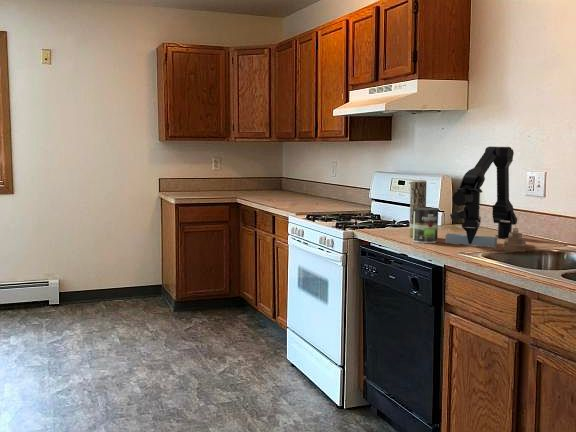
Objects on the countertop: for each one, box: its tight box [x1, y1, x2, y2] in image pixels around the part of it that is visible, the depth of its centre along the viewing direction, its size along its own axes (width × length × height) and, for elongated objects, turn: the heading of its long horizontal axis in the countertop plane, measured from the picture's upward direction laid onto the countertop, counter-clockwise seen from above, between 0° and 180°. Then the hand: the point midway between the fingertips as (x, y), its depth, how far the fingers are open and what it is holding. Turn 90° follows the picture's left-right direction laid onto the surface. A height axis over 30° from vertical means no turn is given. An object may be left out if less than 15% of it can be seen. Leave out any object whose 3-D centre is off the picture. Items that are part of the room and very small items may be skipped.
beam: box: [445, 233, 498, 248], centre depth 258 cm, size 4×20×4 cm, turn 59°
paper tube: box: [409, 179, 427, 238], centre depth 277 cm, size 7×7×25 cm
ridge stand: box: [503, 227, 527, 252], centre depth 252 cm, size 18×8×6 cm, turn 160°
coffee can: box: [412, 206, 440, 244], centre depth 266 cm, size 10×10×14 cm
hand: (470, 242), depth 258 cm, fingers open, 9 cm apart
